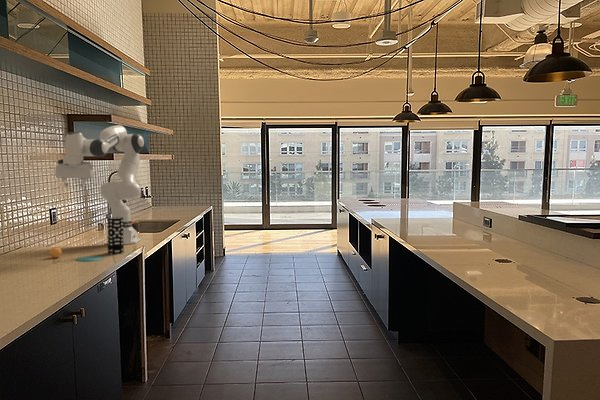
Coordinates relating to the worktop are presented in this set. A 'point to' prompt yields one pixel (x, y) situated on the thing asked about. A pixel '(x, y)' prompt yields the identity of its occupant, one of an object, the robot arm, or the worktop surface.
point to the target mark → (89, 258)
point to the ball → (55, 252)
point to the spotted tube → (115, 235)
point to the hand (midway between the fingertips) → (74, 186)
